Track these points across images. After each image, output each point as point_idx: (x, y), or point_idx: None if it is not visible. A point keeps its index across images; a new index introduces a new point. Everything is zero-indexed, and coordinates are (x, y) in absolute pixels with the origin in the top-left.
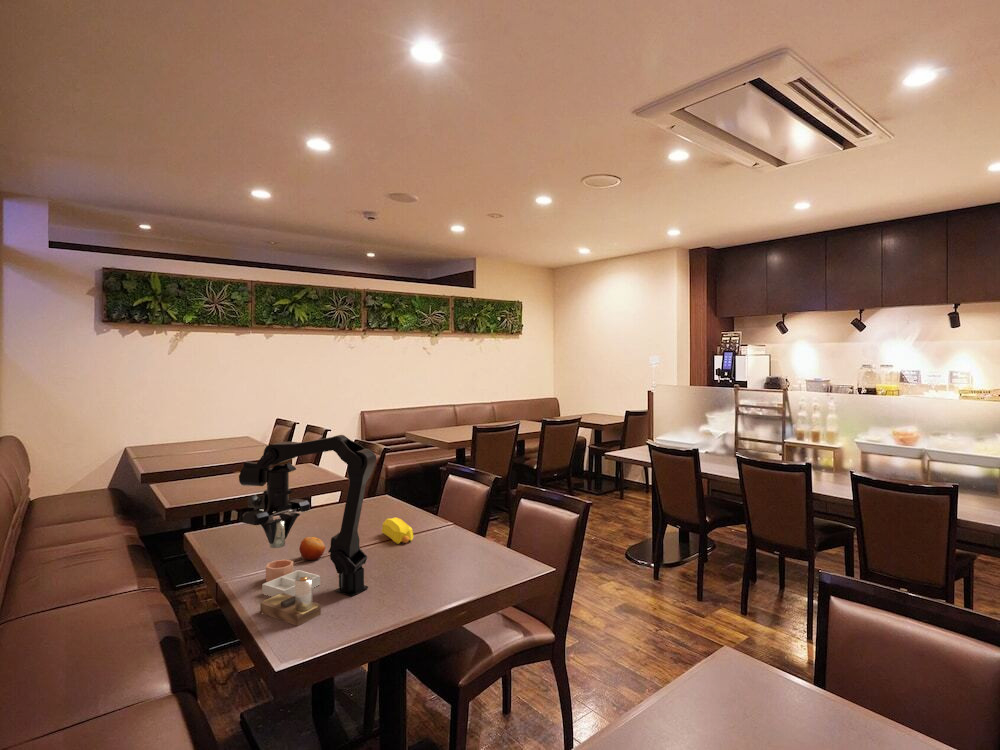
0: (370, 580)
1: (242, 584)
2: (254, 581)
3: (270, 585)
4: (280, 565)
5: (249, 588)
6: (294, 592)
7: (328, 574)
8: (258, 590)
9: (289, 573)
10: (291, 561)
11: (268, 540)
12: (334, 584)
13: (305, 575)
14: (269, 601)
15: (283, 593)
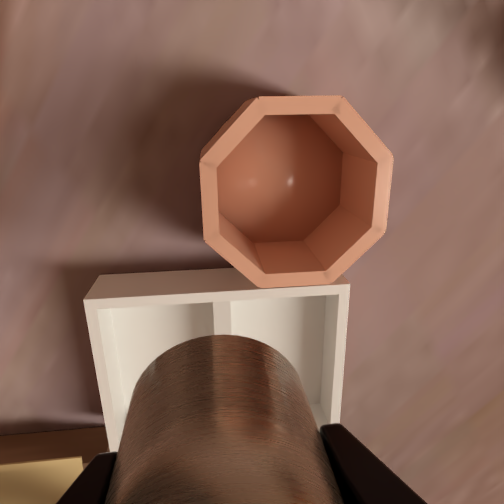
0: (451, 499)
1: (98, 25)
2: (176, 53)
3: (103, 352)
4: (339, 133)
5: (94, 134)
6: None
7: (443, 329)
8: (113, 209)
9: (281, 289)
10: (376, 223)
11: (68, 495)
12: (361, 434)
13: (329, 341)
14: (3, 489)
15: None
